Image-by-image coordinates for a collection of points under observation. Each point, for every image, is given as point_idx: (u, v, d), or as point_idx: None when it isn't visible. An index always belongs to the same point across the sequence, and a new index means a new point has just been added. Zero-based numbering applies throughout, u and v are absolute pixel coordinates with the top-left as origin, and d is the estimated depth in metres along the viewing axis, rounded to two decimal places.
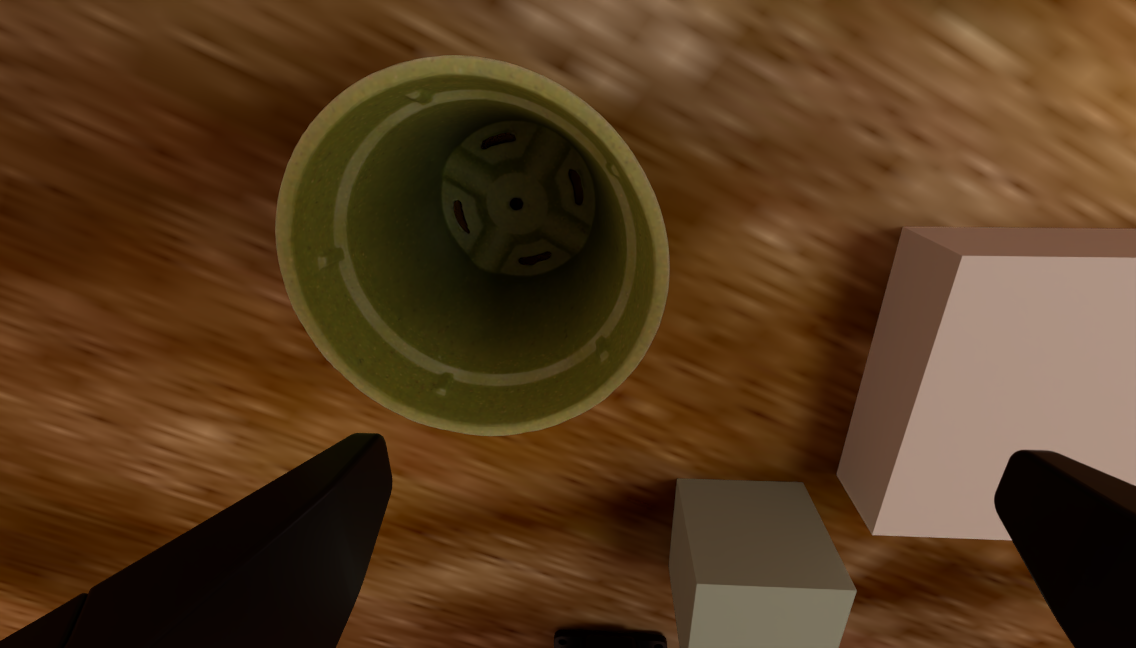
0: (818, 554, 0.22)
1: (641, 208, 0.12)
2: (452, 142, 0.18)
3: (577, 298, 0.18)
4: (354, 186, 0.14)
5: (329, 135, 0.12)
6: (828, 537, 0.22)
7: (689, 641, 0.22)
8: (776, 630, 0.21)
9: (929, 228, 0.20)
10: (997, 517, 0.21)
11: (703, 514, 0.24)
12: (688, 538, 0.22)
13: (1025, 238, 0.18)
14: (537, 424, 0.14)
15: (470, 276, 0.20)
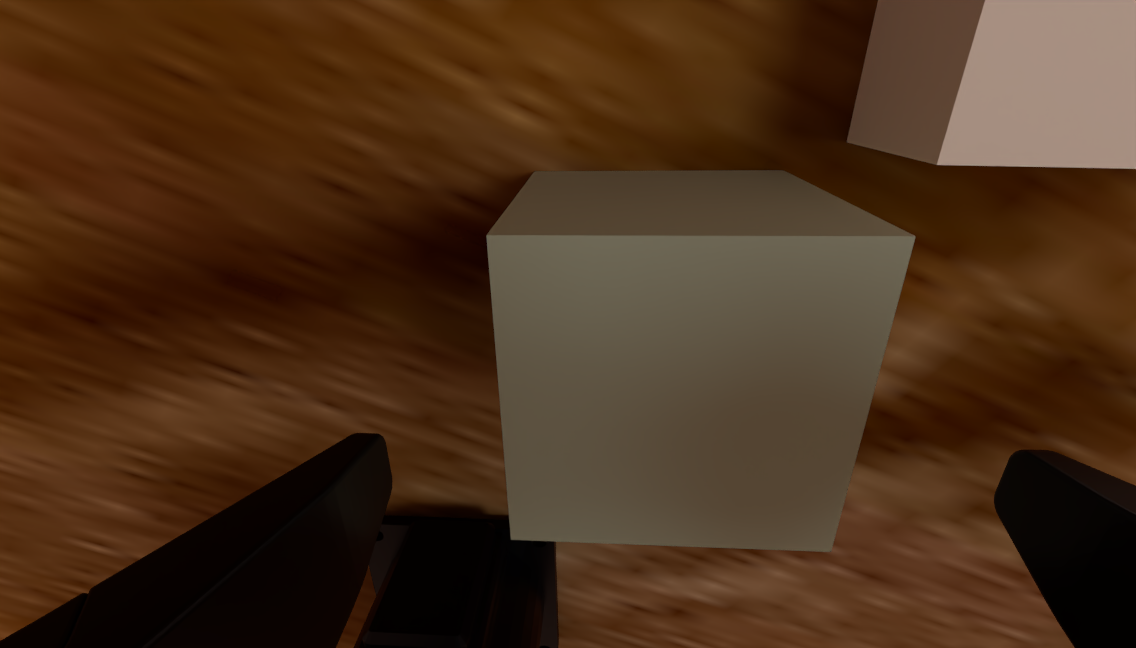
0: (812, 209, 0.09)
1: None
2: None
3: None
4: None
5: None
6: (836, 198, 0.10)
7: (503, 430, 0.09)
8: (707, 386, 0.08)
9: None
10: None
11: (564, 188, 0.11)
12: None
13: None
14: None
15: None
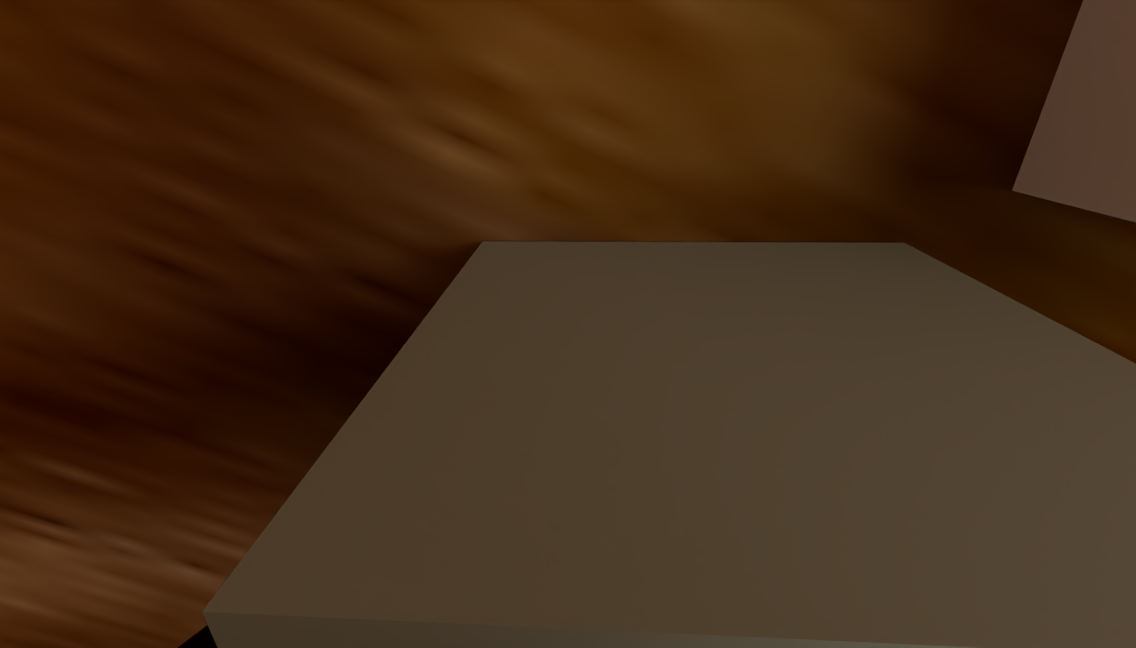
0: (1120, 421, 0.04)
1: None
2: None
3: None
4: None
5: None
6: (1116, 358, 0.04)
7: None
8: None
9: None
10: None
11: (519, 302, 0.06)
12: (393, 368, 0.04)
13: None
14: None
15: None
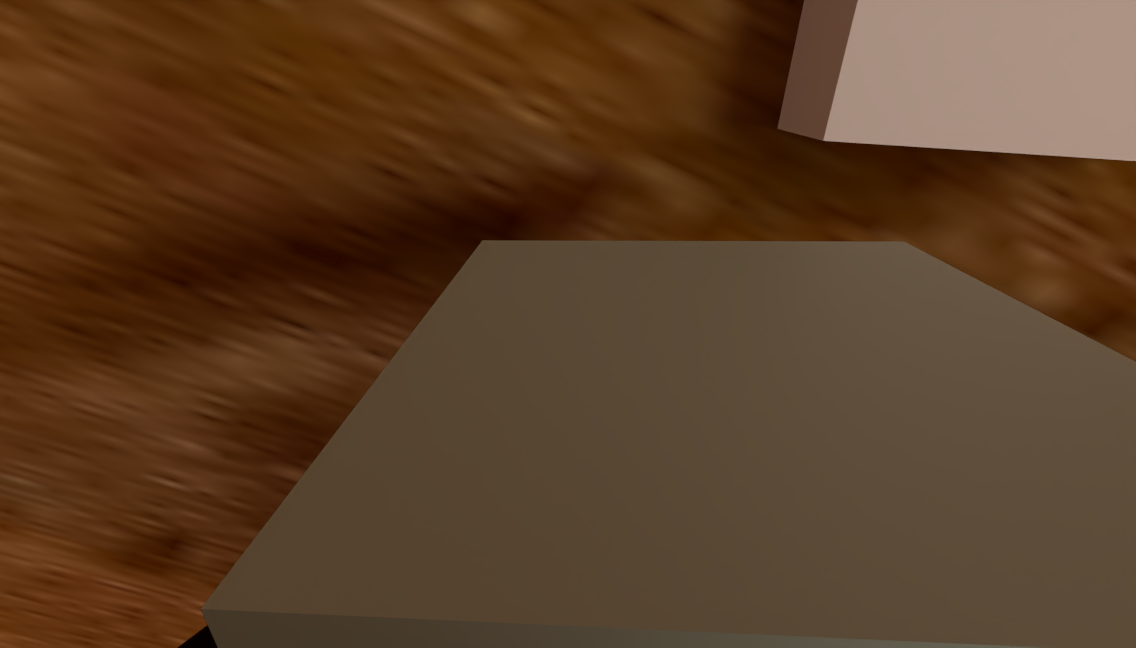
0: (1117, 418, 0.04)
1: None
2: None
3: None
4: None
5: None
6: (1116, 356, 0.04)
7: None
8: None
9: None
10: (1040, 98, 0.12)
11: (519, 300, 0.06)
12: (393, 367, 0.04)
13: None
14: None
15: None
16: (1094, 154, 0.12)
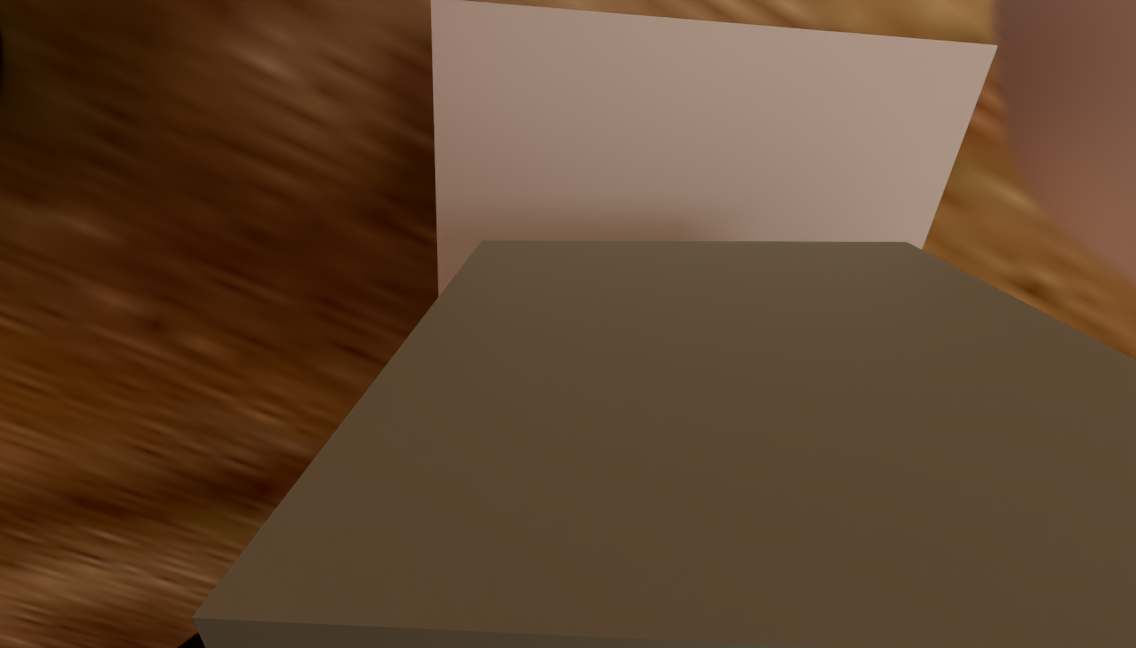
0: (1128, 421, 0.03)
1: None
2: None
3: None
4: None
5: None
6: (1123, 358, 0.04)
7: None
8: None
9: None
10: None
11: (519, 302, 0.06)
12: (391, 368, 0.04)
13: None
14: None
15: None
16: None
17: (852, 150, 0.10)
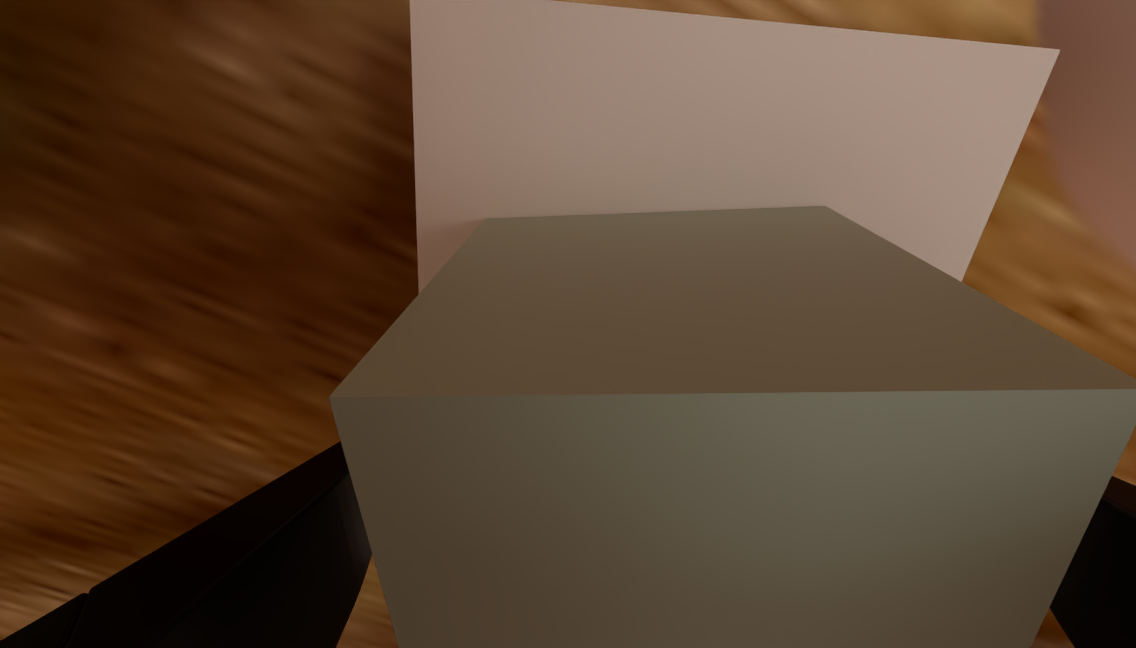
0: (907, 301, 0.05)
1: None
2: None
3: None
4: None
5: None
6: (934, 270, 0.06)
7: None
8: (743, 621, 0.05)
9: None
10: None
11: (512, 256, 0.07)
12: (422, 297, 0.06)
13: None
14: None
15: None
16: None
17: (888, 166, 0.09)
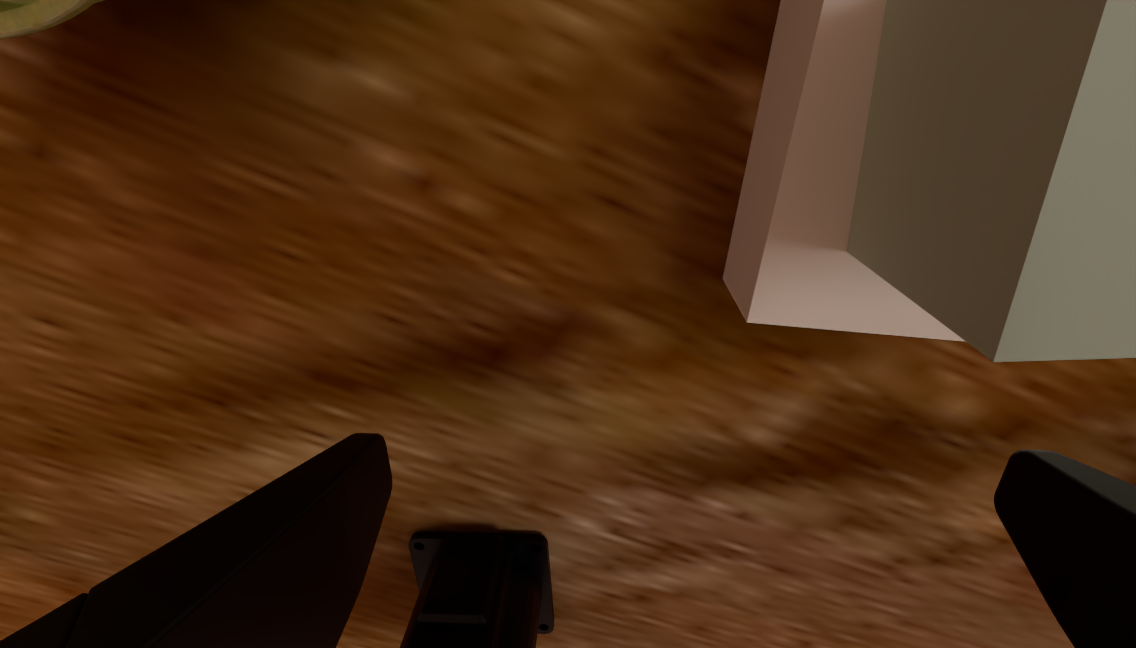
0: None
1: None
2: None
3: None
4: None
5: None
6: None
7: (1039, 212, 0.08)
8: None
9: None
10: None
11: None
12: None
13: None
14: (48, 3, 0.08)
15: None
16: None
17: None
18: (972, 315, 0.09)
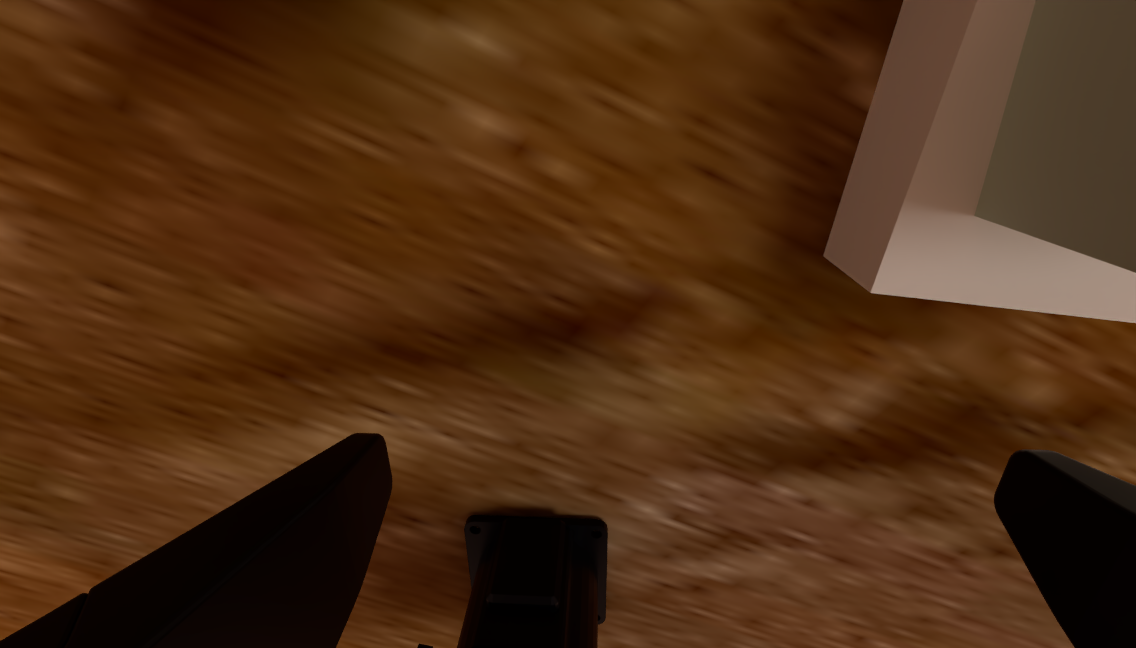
0: None
1: None
2: None
3: None
4: None
5: None
6: None
7: None
8: None
9: None
10: (1049, 271, 0.15)
11: None
12: None
13: None
14: None
15: None
16: (1091, 315, 0.15)
17: None
18: None
